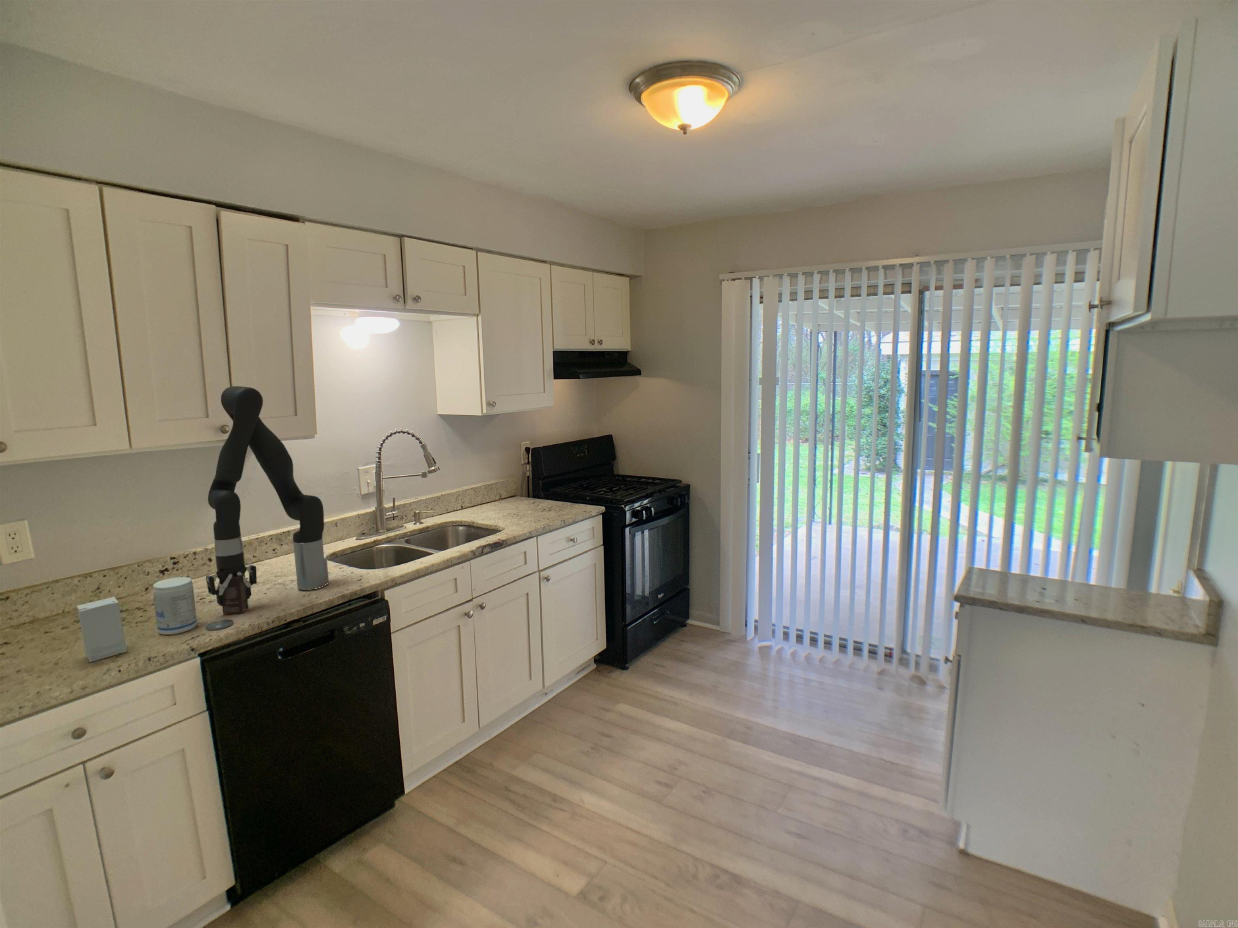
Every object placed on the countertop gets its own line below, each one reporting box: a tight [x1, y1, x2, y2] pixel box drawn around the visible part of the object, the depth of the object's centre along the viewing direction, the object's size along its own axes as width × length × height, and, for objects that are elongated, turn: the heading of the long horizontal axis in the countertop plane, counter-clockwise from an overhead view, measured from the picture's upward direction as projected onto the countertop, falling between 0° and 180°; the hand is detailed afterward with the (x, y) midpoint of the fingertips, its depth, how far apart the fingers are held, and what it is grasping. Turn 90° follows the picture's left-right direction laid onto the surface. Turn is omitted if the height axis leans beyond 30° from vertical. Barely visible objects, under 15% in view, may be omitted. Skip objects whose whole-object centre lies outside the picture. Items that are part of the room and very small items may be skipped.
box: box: [218, 573, 249, 615], centre depth 193 cm, size 6×4×12 cm
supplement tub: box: [152, 576, 198, 636], centre depth 180 cm, size 10×10×15 cm
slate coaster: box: [205, 618, 234, 632], centre depth 183 cm, size 7×7×1 cm
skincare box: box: [76, 596, 128, 663], centre depth 164 cm, size 8×6×15 cm
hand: (234, 601), depth 194 cm, fingers closed on box, 7 cm apart
